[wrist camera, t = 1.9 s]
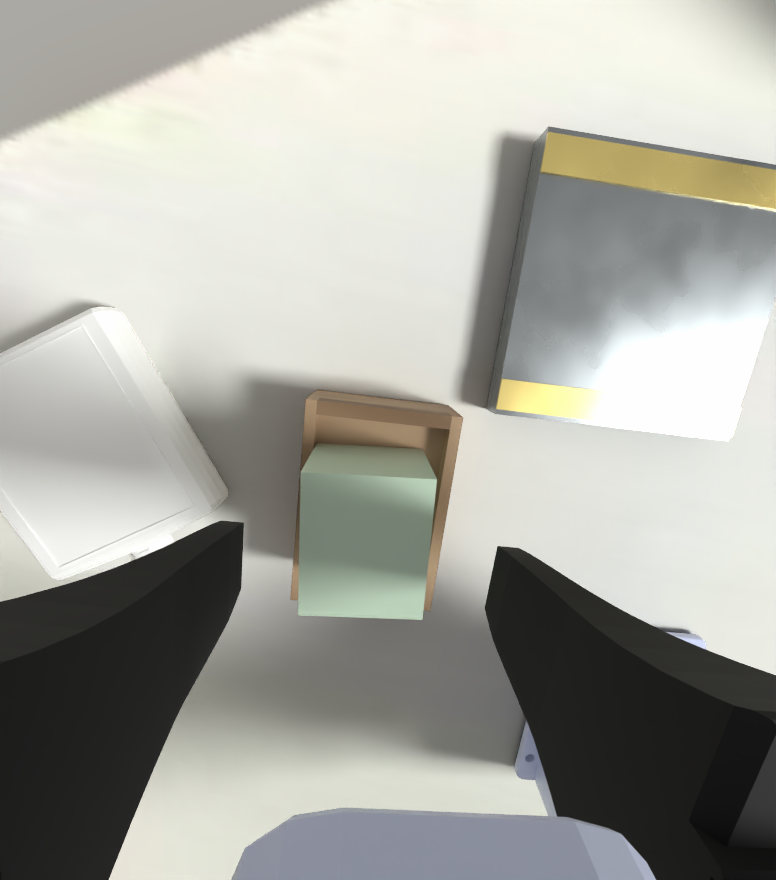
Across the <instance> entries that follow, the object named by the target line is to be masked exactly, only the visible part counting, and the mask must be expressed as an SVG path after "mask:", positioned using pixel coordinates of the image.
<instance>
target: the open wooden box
mask: <svg viewBox="0 0 776 880" xmlns="http://www.w3.org/2000/svg"><path fill="white" fill-rule="evenodd" d="M462 421H463V417H462V416H461V415H460V414H458V413H457V412H456V411H455V410H453V409H452V408H451V407H450V406H448V405H441V404H433V403H424V402H416V401H407V400H399V399H391V398H382V397H374V396H365V395H357V394H348V393H340V392H332V391H323V390H316V391H315V392H313V393H312V394H311V395H310V396H309V397H308V398H306V402H305V415H304V428H303V441H302V455H301V468H300V479H301V471H302V469H303V467H304V465H305V464H306V462H307V460H308V458H309V456H310V455H311V453H312V451H313V449H314V448H315V446H316V444H317V443H323V444H341V445H359V446H377V447H394V448H412V449H423V451H424V453H425V455H426V457H427V459H428V461H429V464H430V466H431V468H432V470H433V472H434V474H435V476H436V478H437V484H436V494H435V504H434V513H433V523H432V533H431V542H430V552H429V562H428V572H427V581H426V591H425V601H424V611H430V609H431V603H432V597H433V591H434V586H435V580H436V574H437V568H438V562H439V556H440V550H441V545H442V539H443V533H444V527H445V521H446V515H447V509H448V504H449V498H450V492H451V486H452V480H453V474H454V468H455V462H456V457H457V451H458V445H459V439H460V433H461V427H462ZM299 532H300V481H299V494H298V507H297V520H296V533H295V546H294V560H293V573H292V586H291V599H290V600H298V585H299Z"/></svg>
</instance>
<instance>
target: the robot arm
mask: <svg viewBox="0 0 776 880" xmlns="http://www.w3.org/2000/svg"><path fill="white" fill-rule="evenodd" d="M243 528H244V523H240V522H229V521H219V522H216V523H214V524H211V525H209V526H207V527H205V528H203V529H201V530H198V531H196V532H194V533H192V534H190V535H188V536H186V537H184V538H182V539H180V540H178V541H176V542H174V543H171V544H169V545H167V546H165V547H163V548H161V549H158V550H156V551H154V552H152V553H149V554H147V555H145V556H142V557H140V558H138V559H135V560H133V561H131V562H128V563H126V564H124V565H121V566H118V567H116V568H113V569H111V570H108V571H105V572H102V573H99V574H96V575H94V576H91V577H88V578H85V579H82V580H79V581H76V582H72V583H69V584H66V585H62V586H59V587H55V588H51V589H48V590H44V591H41V592H37V593H33V594H30V595H26V596H22V597H19V598H15V599H11V600H7V601H2V602H0V880H109V877H110V875H111V872H112V870H113V867H114V865H115V862H116V860H117V857H118V854H119V852H120V849H121V847H122V844H123V842H124V839H125V837H126V834H127V832H128V829H129V827H130V824H131V822H132V819H133V817H134V815H135V812H136V810H137V807H138V805H139V803H140V800H141V798H142V795H143V793H144V791H145V788H146V786H147V783H148V781H149V779H150V776H151V774H152V771H153V769H154V767H155V764H156V762H157V760H158V757H159V755H160V753H161V751H162V748H163V746H164V744H165V741H166V739H167V737H168V735H169V732H170V730H171V728H172V725H173V723H174V721H175V719H176V717H177V715H178V713H179V711H180V709H181V707H182V705H183V703H184V701H185V699H186V697H187V695H188V694H189V692H190V690H191V688H192V686H193V685H194V683H195V681H196V679H197V677H198V676H199V674H200V672H201V670H202V668H203V666H204V665H205V663H206V661H207V659H208V657H209V656H210V654H211V652H212V650H213V648H214V647H215V645H216V643H217V641H218V639H219V637H220V636H221V634H222V632H223V630H224V628H225V626H226V624H227V623H228V621H229V618H230V616H231V613H232V611H233V608H234V606H235V603H236V600H237V598H238V595H239V592H240V590H241V576H242V552H243ZM485 611H486V615H487V619H488V623H489V627H490V630H491V634H492V637H493V641H494V643H495V646H496V649H497V651H498V653H499V656H500V658H501V661H502V663H503V666H504V668H505V671H506V673H507V675H508V678H509V680H510V682H511V685H512V687H513V689H514V692H515V694H516V697H517V699H518V701H519V704H520V706H521V709H522V711H523V713H524V716H525V718H526V723H525V727H524V731H523V735H522V739H521V743H520V747H519V751H518V755H517V759H516V763H515V771H516V773H517V776H518V777H519V778H521V779H526V780H535V781H536V784H537V787H538V789H539V792H540V795H541V797H542V800H543V803H544V805H545V808H546V811H547V813H548V816H527V815H504V814H480V813H457V812H433V811H410V810H387V809H363V808H338V809H332V810H325V811H319V812H312V813H306V814H299V815H294V816H293V817H291V818H290V819H288V820H287V821H285V822H283V823H282V824H280V825H279V826H277V827H276V828H274V829H273V830H271V831H270V832H268V833H267V834H265V835H264V836H262V837H261V838H259V839H257V840H256V841H255V842H253V843H252V844H251V845H249V846H248V847H246V848H245V850H244V852H243V854H242V856H241V859H240V861H239V863H238V866H237V868H236V870H235V873H234V875H233V877H232V880H776V675H773V674H770V673H767V672H764V671H762V670H759V669H756V668H753V667H750V666H747V665H745V664H742V663H739V662H736V661H734V660H731V659H728V658H726V657H723V656H721V655H718V654H715V653H713V652H710V651H708V650H706V642H705V641H704V640H703V639H702V638H701V637H700V636H698V635H696V634H685V633H673V632H664V631H662V630H660V629H658V628H656V627H654V626H652V625H650V624H648V623H646V622H644V621H642V620H640V619H638V618H636V617H634V616H632V615H630V614H628V613H626V612H624V611H622V610H620V609H619V608H617V607H615V606H613V605H612V604H610V603H608V602H606V601H605V600H603V599H601V598H599V597H598V596H596V595H594V594H593V593H591V592H589V591H588V590H586V589H584V588H583V587H581V586H580V585H578V584H576V583H575V582H573V581H572V580H570V579H568V578H567V577H565V576H564V575H562V574H561V573H559V572H558V571H556V570H554V569H553V568H551V567H550V566H548V565H547V564H545V563H544V562H542V561H540V560H539V559H537V558H536V557H534V556H532V555H531V554H529V553H527V552H525V551H523V550H521V549H519V548H511V547H501V546H498V547H497V552H496V557H495V561H494V566H493V571H492V576H491V581H490V586H489V590H488V595H487V600H486V605H485Z"/></svg>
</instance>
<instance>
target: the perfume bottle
mask: <svg viewBox="0 0 776 880" xmlns="http://www.w3.org/2000/svg"><path fill="white" fill-rule="evenodd" d="M228 495H229V493H228V489H227V487H226V485H225V484H224V482H223V480H222V479H221V477H220V475H219V473H218V472H217V470H216V468H215V467H214V465H213V463H212V462H211V460H210V458H209V457H208V455H207V453H206V451H205V450H204V448H203V446H202V445H201V443H200V441H199V440H198V438H197V436H196V435H195V433H194V431H193V430H192V428H191V426H190V424H189V423H188V421H187V419H186V418H185V416H184V414H183V413H182V411H181V409H180V408H179V406H178V404H177V403H176V401H175V399H174V397H173V396H172V394H171V392H170V391H169V389H168V387H167V386H166V384H165V382H164V381H163V379H162V377H161V376H160V374H159V372H158V370H157V369H156V367H155V365H154V364H153V362H152V360H151V359H150V357H149V355H148V354H147V352H146V350H145V348H144V347H143V345H142V343H141V342H140V340H139V338H138V337H137V335H136V333H135V332H134V330H133V328H132V327H131V325H130V323H129V321H128V320H127V318H126V316H125V315H124V313H123V312H122V311H120V310H119V309H117V308H112V307H95V308H90V309H88V310H86V311H84V312H82V313H80V314H78V315H76V316H74V317H72V318H70V319H68V320H66V321H64V322H62V323H60V324H58V325H56V326H54V327H52V328H50V329H48V330H46V331H44V332H42V333H40V334H38V335H36V336H34V337H32V338H30V339H28V340H26V341H24V342H22V343H20V344H18V345H16V346H14V347H12V348H10V349H8V350H6V351H4V352H2V353H0V511H1V512H2V513H3V515H4V516H5V517H6V519H7V520H8V521H9V523H10V524H11V525H12V526H13V528H14V529H15V530H16V532H17V533H18V534H19V536H20V537H21V538H22V540H23V541H24V542H25V544H26V545H27V546H28V548H29V549H30V550H31V552H32V553H33V554H34V556H35V557H36V558H37V560H38V561H39V562H40V563H41V565H42V566H43V567H44V569H45V570H46V571H47V573H48V574H49V575H50V577H51V578H53V579H56V580H62V579H65V578H68V577H70V576H73V575H76V574H78V573H81V572H83V571H86V570H88V569H91V568H94V567H96V566H99V565H101V564H104V563H107V562H109V561H112V560H114V559H117V558H119V557H122V556H125V555H127V554H130V553H132V555H133V556H134V558H135V559H138V558H140V557H142V556H145V555H147V554H149V553H152V552H154V551H156V550H158V549H161V548H163V547H165V546H167V545H169V544H171V543H174V542H175V541H174V539H173V538H172V536H171V533H173V532H175V531H177V530H179V529H181V528H183V527H185V526H186V525H188V524H190V523H192V522H194V521H196V520H198V519H200V518H202V517H204V516H205V515H207V514H209V513H211V512H213V511H214V510H215V509H216V508H217V507H218V506H219V505H221V504H222V502H223V501H224V500H225V499H226V498H227V497H228Z"/></svg>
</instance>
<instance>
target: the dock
mask: <svg viewBox="0 0 776 880" xmlns="http://www.w3.org/2000/svg"><path fill="white" fill-rule="evenodd" d="M775 299H776V165H773V164H767V163H761V162H756V161H750V160H744V159H738V158H732V157H726V156H720V155H714V154H708V153H702V152H696V151H690V150H684V149H679V148H673V147H667V146H661V145H655V144H649V143H643V142H637V141H631V140H625V139H619V138H613V137H607V136H602V135H596V134H590V133H584V132H578V131H572V130H566V129H560V128H554V127H548V128H547V129H546V130H545V131H544V133H543V134H542V135H541V136H540V138H539V139H538V140H537V141H536V143H535V144H534V149H533V155H532V160H531V166H530V171H529V177H528V182H527V188H526V193H525V199H524V204H523V210H522V215H521V221H520V226H519V232H518V237H517V243H516V248H515V254H514V259H513V265H512V270H511V276H510V281H509V287H508V292H507V298H506V303H505V308H504V314H503V319H502V325H501V330H500V336H499V341H498V347H497V352H496V358H495V363H494V369H493V374H492V380H491V385H490V391H489V396H488V402H487V407H486V409H487V410H489V411H491V412H493V413H494V414H502V415H510V416H519V417H528V418H536V419H545V420H553V421H562V422H570V423H579V424H587V425H596V426H604V427H613V428H621V429H630V430H639V431H647V432H656V433H664V434H673V435H681V436H690V437H698V438H707V439H715V440H724V441H729V438H730V437H732V436H733V433H734V430H735V427H736V424H737V421H738V418H739V415H740V412H741V409H742V408H739V407H740V404H741V401H742V398H743V395H744V392H745V389H746V386H747V383H748V380H749V377H750V374H751V371H752V368H753V365H754V362H755V359H756V356H757V353H758V350H759V347H760V344H761V341H762V338H763V335H764V332H765V329H766V326H767V323H768V320H769V317H770V314H771V311H772V308H773V305H774V302H775Z"/></svg>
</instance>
